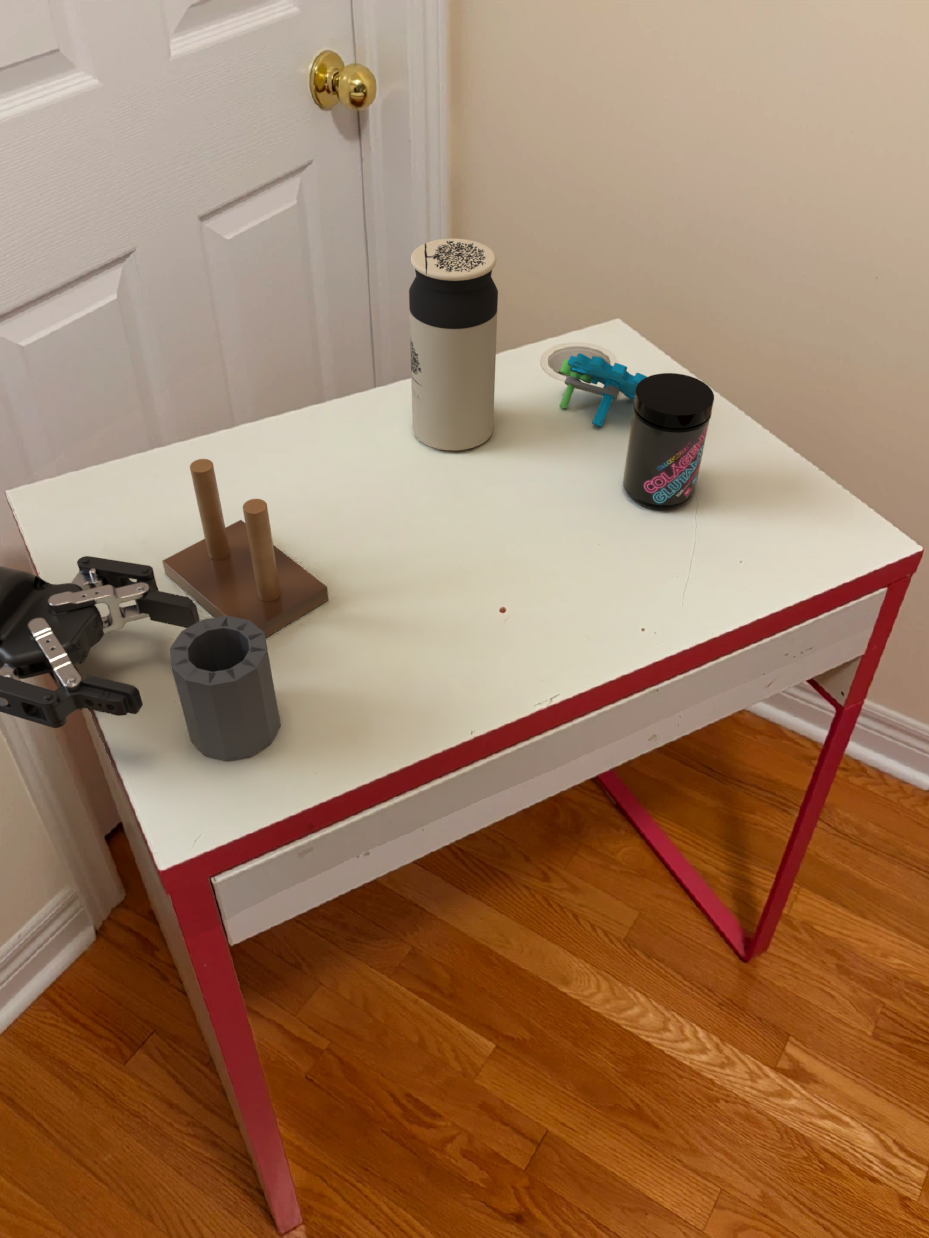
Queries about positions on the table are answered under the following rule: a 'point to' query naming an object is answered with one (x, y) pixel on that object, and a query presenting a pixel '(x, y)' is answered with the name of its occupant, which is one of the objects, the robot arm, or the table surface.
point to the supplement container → (667, 440)
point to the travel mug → (453, 343)
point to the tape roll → (226, 687)
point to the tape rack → (241, 564)
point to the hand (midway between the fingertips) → (168, 656)
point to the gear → (598, 372)
